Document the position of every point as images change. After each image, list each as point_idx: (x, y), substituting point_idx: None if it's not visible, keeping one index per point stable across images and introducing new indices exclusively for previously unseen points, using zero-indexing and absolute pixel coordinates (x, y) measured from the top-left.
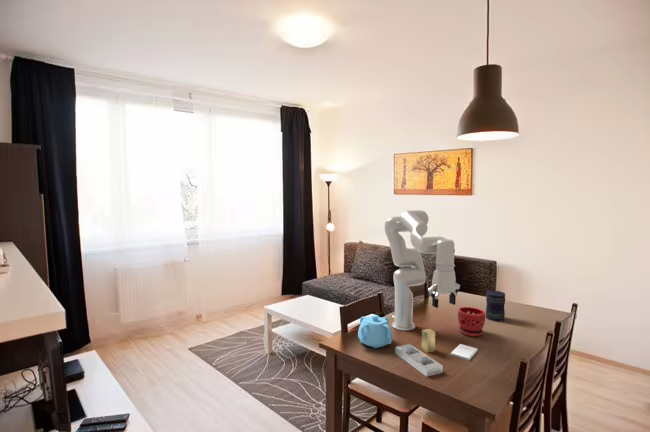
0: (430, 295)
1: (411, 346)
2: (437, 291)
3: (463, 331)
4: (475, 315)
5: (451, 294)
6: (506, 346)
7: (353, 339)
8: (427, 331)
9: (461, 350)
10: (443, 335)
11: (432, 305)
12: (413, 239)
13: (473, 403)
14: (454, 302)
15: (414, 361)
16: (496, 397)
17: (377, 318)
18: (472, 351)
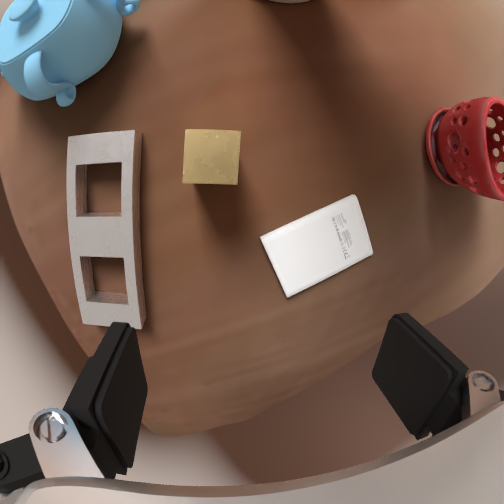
0: (9, 446)
1: (123, 155)
2: (221, 497)
3: (429, 142)
4: (492, 189)
5: (447, 406)
6: (444, 266)
7: None
8: (200, 160)
9: (316, 241)
10: (365, 98)
11: (113, 326)
12: None
13: None
14: (385, 390)
15: (73, 262)
16: (199, 422)
17: (24, 18)
18: (342, 263)
